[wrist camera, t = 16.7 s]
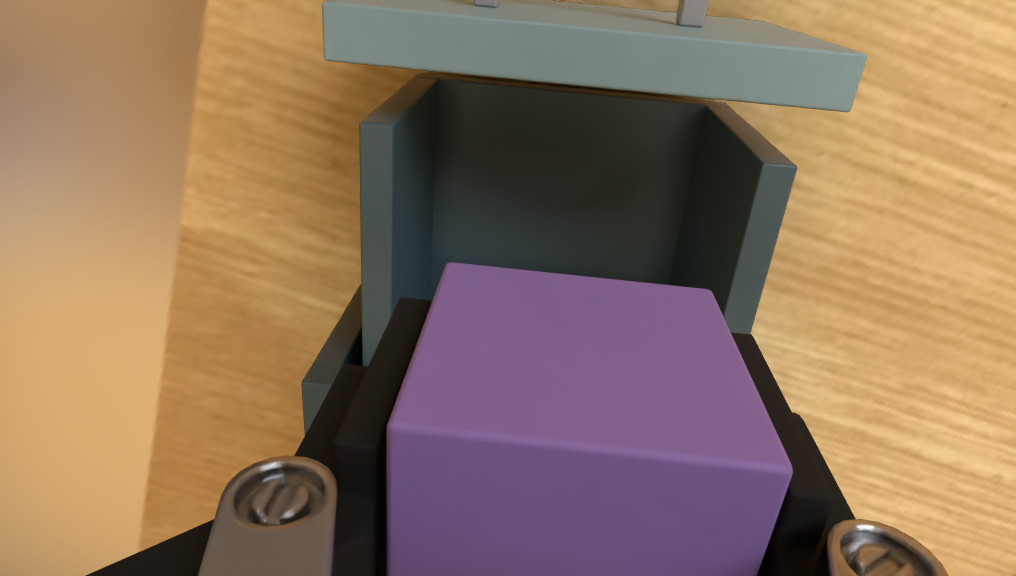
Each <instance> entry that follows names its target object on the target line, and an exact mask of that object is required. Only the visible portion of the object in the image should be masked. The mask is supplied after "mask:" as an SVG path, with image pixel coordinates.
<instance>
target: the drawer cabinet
mask: <svg viewBox="0 0 1016 576" xmlns="http://www.w3.org/2000/svg"><path fill="white" fill-rule="evenodd" d="M345 364H350V365H359V366H363V363H362V291H361V284H360V286H359V288H358V289H357V291H356V293H355V294H354V296H353V298H352V299H351V301H350V303H349V304H348V306H347V308H346V309H345V311H344V313H343V314H342V316H341V318H340V319H339V321H338V323H337V324H336V326H335V328H334V329H333V331H332V333H331V334H330V336H329V338H328V339H327V341H326V343H325V344H324V346H323V348H322V349H321V351H320V353H319V354H318V356H317V358H316V359H315V361H314V363H313V364H312V367H310V369H309V371H308V372H307V374H306V376H305V377H304V379H303V381H302V397H303V413H304V429H305V435H306V433H307V431H308V429H309V428H310V426H311V424H312V422H313V420H314V418H315V416H316V414H317V412H318V410H319V409H320V407H321V405H322V403H323V401H324V399H325V397H326V395H327V393H328V392H329V390H330V388H331V386H332V384H333V382H334V380H335V378H336V376H337V374H338V373H339V371H340V369H341V368H342V366H343V365H345Z"/></svg>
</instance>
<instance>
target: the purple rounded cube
mask: <svg viewBox="0 0 1016 576" xmlns="http://www.w3.org/2000/svg"><path fill="white" fill-rule="evenodd" d="M792 473H793V470H792V465H791V463H790V461H789V459H788V456H787V454H786V452H785V450H784V448H783V445H782V443H781V441H780V439H779V437H778V435H777V432H776V430H775V428H774V426H773V424H772V422H771V419H770V417H769V415H768V413H767V411H766V409H765V406H764V404H763V402H762V400H761V398H760V395H759V393H758V391H757V389H756V387H755V385H754V382H753V380H752V378H751V376H750V374H749V372H748V369H747V367H746V365H745V363H744V361H743V358H742V356H741V354H740V352H739V350H738V348H737V345H736V343H735V341H734V339H733V337H732V335H731V332H730V330H729V328H728V326H727V324H726V322H725V319H724V317H723V315H722V313H721V311H720V308H719V306H718V304H717V302H716V300H715V298H714V295H713V293H712V291H710V290H708V289H701V288H691V287H682V286H672V285H663V284H653V283H644V282H634V281H624V280H615V279H605V278H596V277H586V276H577V275H567V274H558V273H548V272H539V271H529V270H520V269H510V268H501V267H491V266H482V265H472V264H462V263H453V262H450V263H447V264H446V266H445V268H444V270H443V273H442V276H441V279H440V281H439V284H438V287H437V290H436V292H435V295H434V298H433V301H432V303H431V306H430V309H429V312H428V314H427V317H426V320H425V323H424V325H423V328H422V331H421V333H420V336H419V339H418V342H417V344H416V347H415V350H414V353H413V355H412V358H411V361H410V364H409V366H408V369H407V372H406V375H405V377H404V380H403V383H402V386H401V388H400V391H399V394H398V397H397V399H396V402H395V405H394V407H393V410H392V413H391V416H390V418H389V421H388V424H387V453H386V576H757V574H758V571H759V568H760V565H761V562H762V559H763V557H764V554H765V551H766V548H767V545H768V542H769V539H770V537H771V534H772V531H773V528H774V525H775V522H776V520H777V517H778V514H779V511H780V508H781V505H782V502H783V500H784V497H785V494H786V491H787V488H788V485H789V483H790V480H791V477H792Z"/></svg>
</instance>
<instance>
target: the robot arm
mask: <svg viewBox="0 0 1016 576" xmlns="http://www.w3.org/2000/svg"><path fill="white" fill-rule="evenodd" d="M431 303H432V300H424V299H415V298H405V297H400V299H399V301H398V303H397V305H396V307H395V310H394V312H393V314H392V316H391V318H390V320H389V322H388V325H387V327H386V329H385V331H384V333H383V335H382V338H381V340H380V342H379V344H378V346H377V348H376V351H375V353H374V355H373V357H372V359H371V361H370V363H369V366H359V365H350V364H345V365H343V366H342V368H341V369H340V371H339V373H338V374H337V376H336V378H335V380H334V382H333V384H332V386H331V388H330V390H329V392H328V393H327V395H326V397H325V399H324V401H323V403H322V405H321V407H320V409H319V410H318V412H317V414H316V416H315V418H314V420H313V422H312V424H311V426H310V428H309V429H308V431H307V433H306V435H305V437H304V439H303V441H302V443H301V445H300V446H299V448H298V450H297V452H296V454H295V456H282V457H275V458H269V459H266V460H263V461H260V462H257V463H254V464H252V465H251V466H249V467H247V468H246V469H244V470H242V471H240V472H239V473H238V474H237V475H236V476H235V477H234V478H233V479H232V480H231V481H230V482H229V483H228V484H227V486H226V488H225V490H224V491H223V493H222V495H221V498H220V502H219V505H218V508H217V512H216V515H215V519H214V520H211V521H209V522H207V523H204V524H202V525H200V526H198V527H195V528H193V529H191V530H188V531H186V532H184V533H182V534H179V535H177V536H175V537H173V538H170V539H168V540H166V541H163V542H161V543H159V544H157V545H154V546H152V547H150V548H148V549H145V550H143V551H141V552H138V553H136V554H134V555H132V556H129V557H127V558H125V559H123V560H121V561H118V562H116V563H113V564H111V565H109V566H107V567H104V568H102V569H100V570H97V571H95V572H93V573H91V574H88V575H86V576H386V453H387V424H388V421H389V418H390V416H391V413H392V410H393V407H394V405H395V402H396V399H397V397H398V394H399V391H400V388H401V386H402V383H403V380H404V377H405V375H406V372H407V369H408V366H409V364H410V361H411V358H412V355H413V353H414V350H415V347H416V344H417V342H418V339H419V336H420V333H421V331H422V328H423V325H424V323H425V320H426V317H427V314H428V312H429V309H430V306H431ZM731 335H732V337H733V339H734V341H735V343H736V345H737V348H738V350H739V352H740V354H741V356H742V358H743V361H744V363H745V365H746V367H747V369H748V372H749V374H750V376H751V378H752V380H753V382H754V385H755V387H756V389H757V391H758V393H759V395H760V398H761V400H762V402H763V404H764V406H765V409H766V411H767V413H768V415H769V417H770V419H771V422H772V424H773V426H774V428H775V430H776V432H777V435H778V437H779V439H780V441H781V443H782V445H783V448H784V450H785V452H786V454H787V456H788V459H789V461H790V463H791V465H792V470H793V473H792V477H791V480H790V483H789V485H788V488H787V491H786V494H785V497H784V500H783V502H782V505H781V508H780V511H779V514H778V517H777V520H776V522H775V525H774V528H773V531H772V534H771V537H770V539H769V542H768V545H767V548H766V551H765V554H764V557H763V559H762V562H761V565H760V568H759V571H758V574H757V576H948V574H947V572H946V570H945V569H944V567H943V565H942V564H941V563H940V561H939V560H938V559H937V558H936V557H935V556H934V555H933V554H932V553H931V552H930V550H928V549H927V548H926V547H924V546H923V545H922V544H920V543H919V542H918V541H917V540H915V539H914V538H912V537H911V536H909V535H907V534H905V533H903V532H901V531H899V530H898V529H896V528H893V527H890V526H888V525H885V524H882V523H879V522H875V521H869V520H863V519H855V517H854V515H853V513H852V511H851V509H850V507H849V506H848V504H847V502H846V500H845V498H844V496H843V494H842V492H841V490H840V489H839V487H838V485H837V483H836V481H835V479H834V477H833V475H832V473H831V472H830V470H829V468H828V466H827V464H826V462H825V460H824V458H823V456H822V454H821V453H820V451H819V449H818V447H817V445H816V443H815V441H814V439H813V437H812V436H811V434H810V432H809V430H808V428H807V426H806V424H805V422H804V421H803V419H802V418H801V417H800V415H798V414H796V413H792V412H791V410H790V408H789V406H788V404H787V402H786V400H785V398H784V396H783V394H782V392H781V390H780V388H779V386H778V384H777V382H776V381H775V379H774V377H773V375H772V373H771V371H770V369H769V367H768V365H767V363H766V361H765V359H764V357H763V355H762V353H761V351H760V349H759V347H758V345H757V343H756V341H755V339H754V338H753V336H752V335H751V334H744V333H735V332H731Z"/></svg>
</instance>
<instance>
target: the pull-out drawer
mask: <svg viewBox="0 0 1016 576" xmlns="http://www.w3.org/2000/svg"><path fill="white" fill-rule="evenodd" d="M707 5H708V0H679V5H678V11H677V13H675V12H664V11H654V10H644V9H633V8H623V7H612V6H602V5H592V4H581V3H571V2H560V1H550V0H330V1H325V2H323V4H322V16H323V44H324V59H325V60H326V61H333V62H343V63H353V64H364V65H374V66H384V67H394V68H404V69H414V70H424V71H435V72H445V73H455V74H465V75H475V76H485V77H495V78H505V79H516V80H526V81H536V82H546V83H556V84H566V85H576V86H586V87H597V88H607V89H617V90H627V91H637V92H647V93H657V94H668V95H678V96H688V97H698V98H708V99H718V100H728V101H738V102H749V103H759V104H769V105H779V106H789V107H799V108H809V109H819V110H830V111H840V112H849V111H850V110H851V108H852V104H853V101H854V98H855V95H856V91H857V88H858V85H859V82H860V78H861V75H862V72H863V69H864V65H865V62H866V59H867V55H866V54H864V53H861V52H858V51H855V50H852V49H849V48H846V47H843V46H839V45H836V44H833V43H830V42H827V41H824V40H821V39H818V38H815V37H812V36H808V35H805V34H802V33H799V32H796V31H793V30H790V29H787V28H784V27H781V26H778V25H774V24H771V23H768V22H765V21H758V20H748V19H737V18H727V17H717V16H706V10H707ZM359 146H360V219H361V291H362V363H363V366H369V363H370V361H371V359H372V357H373V355H374V353H375V351H376V348H377V346H378V344H379V342H380V340H381V338H382V335H383V333H384V331H385V329H386V327H387V325H388V322H389V320H390V318H391V316H392V314H393V312H394V310H395V307H396V305H397V303H398V301H399V299H400V297H405V298H415V299H424V300H432V301H433V298H434V295H435V292H436V290H437V287H438V284H439V281H440V279H441V276H442V273H443V270H444V268H445V266H446V264H447V263H450V262H453V263H462V264H472V265H482V266H491V267H501V268H510V269H520V270H529V271H539V272H548V273H558V274H567V275H577V276H586V277H596V278H605V279H615V280H624V281H634V282H644V283H653V284H663V285H672V286H682V287H691V288H701V289H708V290H710V291H712V293H713V295H714V298H715V300H716V302H717V304H718V306H719V308H720V311H721V313H722V315H723V317H724V319H725V322H726V324H727V326H728V328H729V330H730V332H735V333H744V334H750V333H751V329H752V326H753V322H754V319H755V315H756V312H757V308H758V305H759V301H760V298H761V294H762V290H763V287H764V283H765V280H766V276H767V273H768V269H769V266H770V262H771V259H772V255H773V252H774V248H775V245H776V241H777V237H778V234H779V230H780V227H781V223H782V220H783V216H784V213H785V209H786V206H787V202H788V199H789V195H790V192H791V188H792V184H793V181H794V177H795V174H796V170H797V166H796V165H795V164H794V163H793V162H791V161H790V160H789V159H788V158H787V157H786V156H785V155H783V154H782V153H781V152H780V151H779V150H778V149H777V148H776V147H774V146H773V145H772V144H771V143H770V142H769V141H768V140H767V139H765V138H764V137H763V136H762V135H761V134H760V133H759V132H758V131H756V130H755V129H754V128H753V127H752V126H751V125H750V124H749V123H747V122H746V121H745V120H744V119H743V118H742V117H741V116H740V115H738V114H737V113H736V112H735V111H734V110H733V109H732V108H730V107H729V106H728V105H727V104H726V103H720V102H710V101H700V100H690V99H680V98H670V97H659V96H649V95H639V94H629V93H619V92H609V91H599V90H589V89H579V88H568V87H558V86H548V85H538V84H528V83H518V82H508V81H498V80H487V79H477V78H467V77H457V76H447V75H437V74H427V73H418V74H416V75H415V76H414V77H413V78H412V79H411V80H410V81H409V82H407V83H406V84H405V85H404V86H403V87H401V88H400V89H399V90H398V91H397V92H396V93H394V94H393V95H392V96H391V97H390V98H388V99H387V100H386V101H385V102H384V103H383V104H381V105H380V106H379V107H378V108H377V109H375V110H374V111H373V112H372V113H371V114H370V115H368V116H367V117H366V118H365V119H364V120H362V121H361V122H360V124H359Z"/></svg>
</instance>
